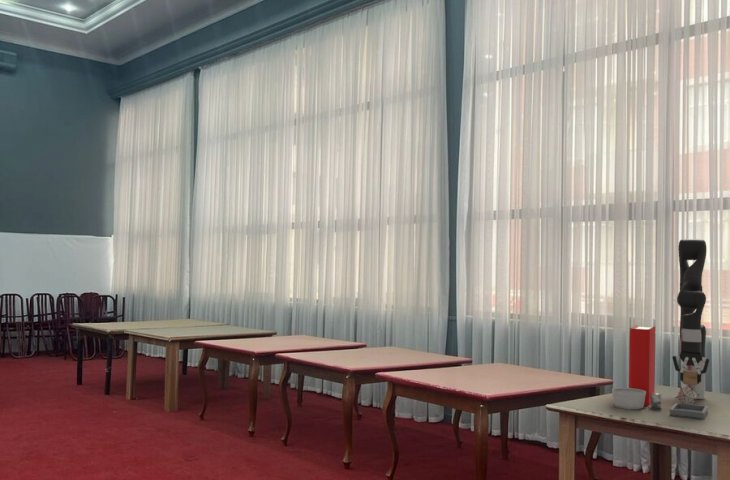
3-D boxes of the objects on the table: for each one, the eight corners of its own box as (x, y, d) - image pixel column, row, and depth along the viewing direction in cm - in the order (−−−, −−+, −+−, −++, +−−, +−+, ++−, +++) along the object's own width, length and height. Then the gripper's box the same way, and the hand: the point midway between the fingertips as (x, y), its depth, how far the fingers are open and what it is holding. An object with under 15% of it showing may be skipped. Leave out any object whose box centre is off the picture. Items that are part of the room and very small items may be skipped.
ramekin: (633, 411, 285) (633, 394, 286) (605, 405, 296) (605, 389, 296) (652, 408, 293) (652, 391, 293) (624, 403, 304) (624, 386, 304)
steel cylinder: (651, 407, 296) (651, 392, 296) (661, 408, 294) (662, 393, 294) (649, 408, 292) (650, 393, 292) (660, 409, 290) (660, 395, 290)
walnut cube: (684, 382, 290) (684, 370, 290) (698, 383, 287) (698, 371, 287) (683, 383, 285) (683, 371, 286) (696, 385, 283) (696, 372, 283)
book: (635, 395, 326) (636, 324, 327) (654, 397, 322) (655, 326, 323) (628, 404, 301) (629, 328, 303) (648, 406, 298) (649, 329, 299)
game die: (691, 415, 301) (703, 398, 295) (671, 406, 303) (682, 390, 297) (691, 401, 308) (702, 385, 303) (672, 393, 310) (682, 377, 304)
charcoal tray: (675, 408, 294) (676, 402, 294) (708, 412, 288) (708, 406, 288) (669, 415, 278) (669, 409, 278) (703, 419, 272) (703, 413, 272)
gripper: (711, 341, 287) (711, 383, 286) (673, 338, 294) (672, 379, 293) (709, 342, 280) (709, 385, 279) (670, 339, 288) (670, 381, 287)
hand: (690, 382), depth 286 cm, fingers closed on walnut cube, 5 cm apart
